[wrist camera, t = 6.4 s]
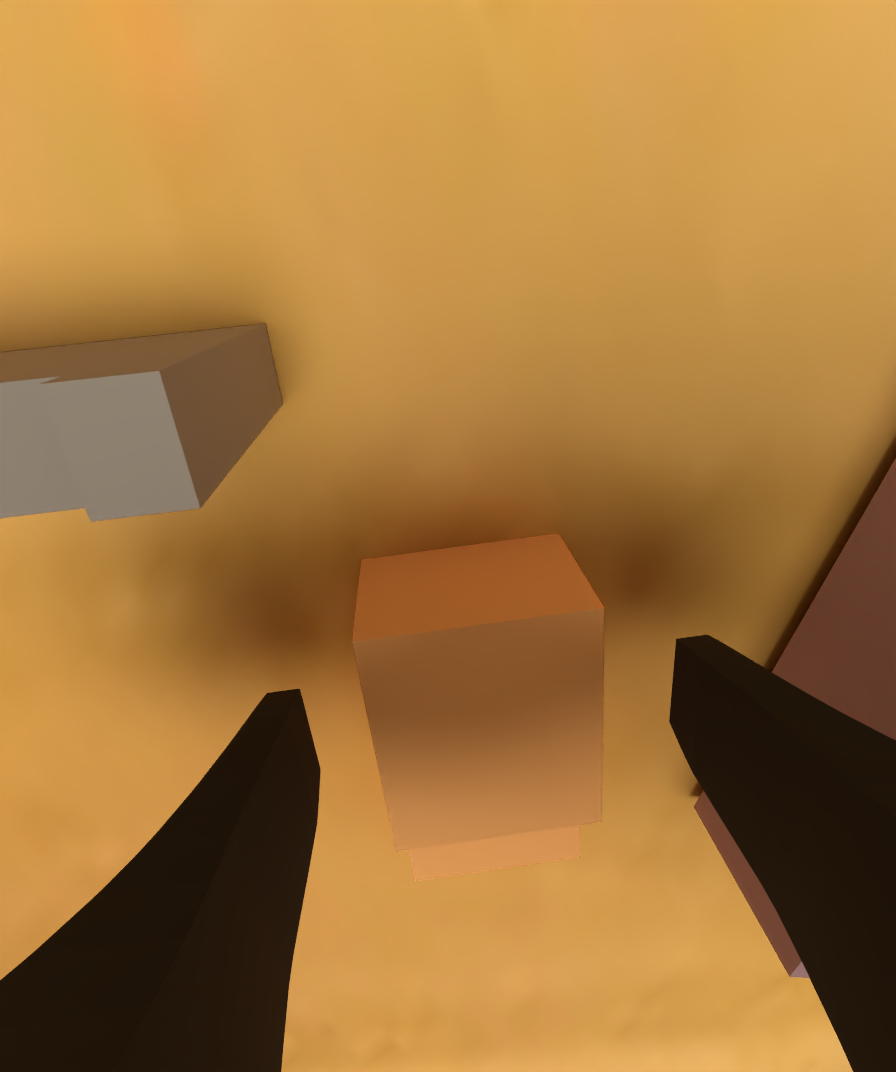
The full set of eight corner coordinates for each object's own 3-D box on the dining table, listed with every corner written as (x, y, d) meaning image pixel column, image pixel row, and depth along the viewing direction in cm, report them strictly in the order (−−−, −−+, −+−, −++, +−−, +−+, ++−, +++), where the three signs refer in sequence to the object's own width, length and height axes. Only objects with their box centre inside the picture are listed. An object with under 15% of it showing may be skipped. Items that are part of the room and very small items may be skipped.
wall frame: (1285, 212, 12) (1952, 171, 7) (1248, 293, 12) (1832, 311, 7) (-50, 357, 11) (-440, 437, 6) (-14, 437, 11) (-336, 573, 6)
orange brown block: (555, 528, 14) (604, 607, 10) (562, 801, 17) (600, 920, 14) (362, 552, 13) (352, 642, 10) (412, 823, 17) (416, 949, 14)
